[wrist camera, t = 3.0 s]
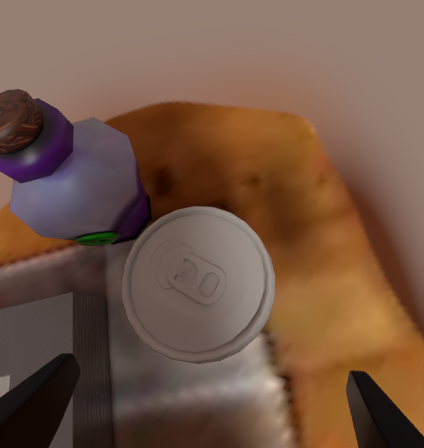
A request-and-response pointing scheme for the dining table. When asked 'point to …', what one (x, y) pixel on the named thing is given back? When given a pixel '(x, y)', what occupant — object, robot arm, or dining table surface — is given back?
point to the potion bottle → (70, 174)
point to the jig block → (64, 343)
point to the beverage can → (198, 285)
